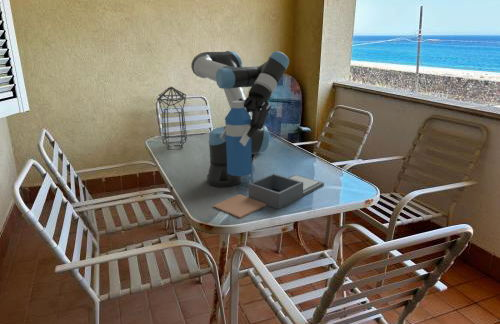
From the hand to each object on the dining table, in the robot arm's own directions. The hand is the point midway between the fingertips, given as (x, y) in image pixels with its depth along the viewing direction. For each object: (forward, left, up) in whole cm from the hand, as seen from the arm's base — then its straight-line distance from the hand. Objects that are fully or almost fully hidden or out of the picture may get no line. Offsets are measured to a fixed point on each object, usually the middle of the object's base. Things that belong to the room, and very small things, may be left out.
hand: (232, 141), depth 123 cm
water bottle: (0, +3, -12) cm, 12 cm away
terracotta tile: (0, +3, -25) cm, 26 cm away
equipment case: (+5, +26, -25) cm, 37 cm away
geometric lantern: (-83, +35, -26) cm, 94 cm away
